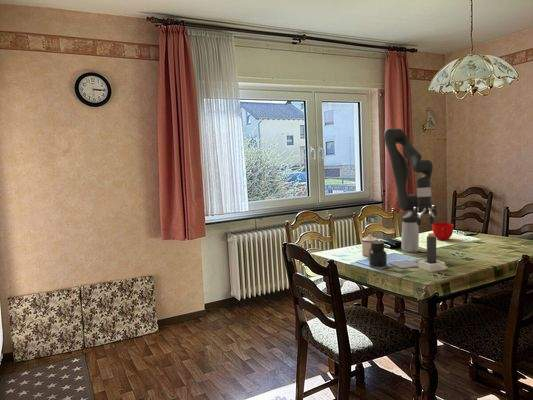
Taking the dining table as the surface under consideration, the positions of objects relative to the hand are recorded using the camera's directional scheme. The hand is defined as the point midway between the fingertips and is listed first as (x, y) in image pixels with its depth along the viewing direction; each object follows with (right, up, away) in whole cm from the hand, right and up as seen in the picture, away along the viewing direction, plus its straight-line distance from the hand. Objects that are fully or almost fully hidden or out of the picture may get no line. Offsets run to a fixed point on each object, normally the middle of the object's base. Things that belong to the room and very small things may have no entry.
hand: (425, 224), depth 233 cm
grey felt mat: (-17, -20, -17) cm, 31 cm away
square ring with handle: (-6, -20, -29) cm, 36 cm away
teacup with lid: (-28, -18, +9) cm, 34 cm away
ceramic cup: (+27, -13, +41) cm, 50 cm away
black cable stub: (-7, -20, -26) cm, 34 cm away
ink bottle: (-31, -20, -15) cm, 40 cm away
